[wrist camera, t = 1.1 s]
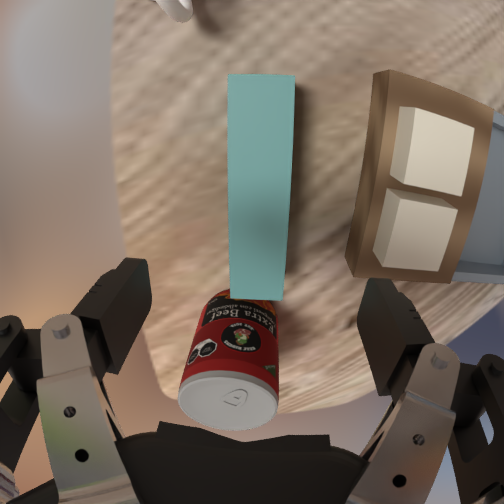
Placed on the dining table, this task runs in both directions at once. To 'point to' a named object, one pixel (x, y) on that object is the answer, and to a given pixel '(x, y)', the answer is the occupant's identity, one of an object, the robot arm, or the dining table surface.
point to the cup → (177, 9)
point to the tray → (487, 220)
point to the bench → (379, 179)
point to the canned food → (232, 365)
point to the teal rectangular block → (259, 182)
